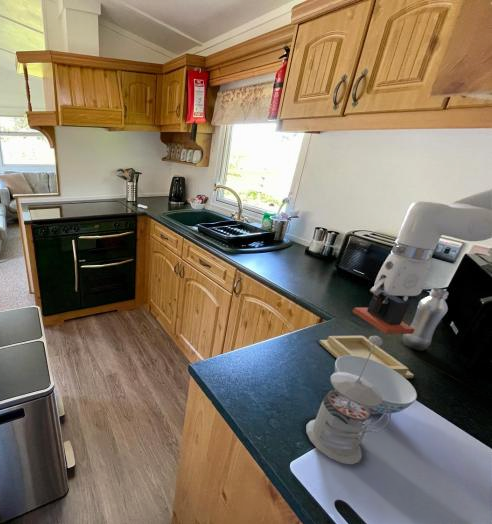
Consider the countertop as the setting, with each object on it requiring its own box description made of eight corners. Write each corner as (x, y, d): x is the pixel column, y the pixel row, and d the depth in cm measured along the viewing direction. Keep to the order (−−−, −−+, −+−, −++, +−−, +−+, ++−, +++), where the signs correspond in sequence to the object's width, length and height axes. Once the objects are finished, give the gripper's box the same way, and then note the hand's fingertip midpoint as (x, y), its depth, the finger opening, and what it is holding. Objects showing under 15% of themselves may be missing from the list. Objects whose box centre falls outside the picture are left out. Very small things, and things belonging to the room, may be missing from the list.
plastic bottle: (395, 342, 93) (421, 287, 86) (407, 339, 96) (432, 284, 89) (419, 355, 88) (448, 297, 81) (431, 350, 91) (460, 294, 84)
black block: (376, 312, 86) (386, 287, 83) (412, 334, 76) (425, 307, 73) (352, 311, 85) (362, 287, 82) (385, 334, 74) (398, 307, 72)
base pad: (363, 341, 93) (366, 334, 92) (412, 378, 78) (417, 369, 77) (318, 342, 91) (321, 335, 90) (360, 379, 76) (364, 371, 75)
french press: (301, 413, 64) (336, 316, 55) (360, 429, 61) (407, 330, 52) (312, 454, 55) (355, 346, 46) (382, 475, 52) (442, 364, 44)
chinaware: (325, 371, 78) (334, 347, 75) (395, 395, 71) (407, 370, 69) (326, 409, 66) (337, 383, 63) (410, 443, 59) (426, 415, 56)
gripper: (397, 255, 68) (369, 322, 75) (455, 258, 70) (423, 322, 77) (370, 246, 75) (346, 307, 82) (424, 248, 77) (397, 308, 84)
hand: (384, 314), depth 79 cm, fingers closed on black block, 3 cm apart
